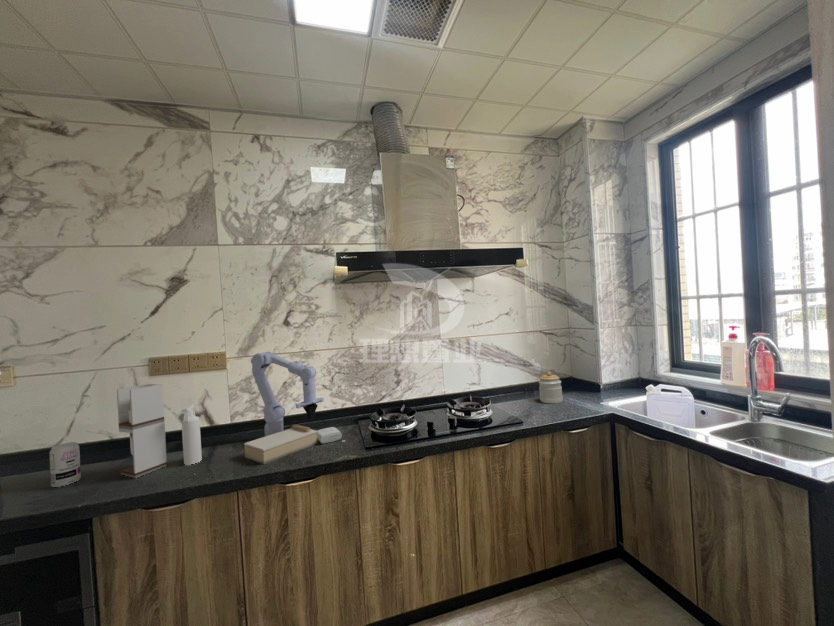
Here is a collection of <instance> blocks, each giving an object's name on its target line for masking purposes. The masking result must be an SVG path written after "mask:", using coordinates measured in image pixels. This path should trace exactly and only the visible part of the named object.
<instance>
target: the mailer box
mask: <svg viewBox="0 0 834 626" xmlns="http://www.w3.org/2000/svg"><path fill="white" fill-rule="evenodd" d="M317 444H318V440H317V433H313V434H311V435H308V436H305V437H302V438H299V439H297V440H294V441H291V442H288V443H285V444H283V445H280V446H277V447H274V448H272V449H269V450H266V451H261V450H258V449H255V448H252V447H249V446H246V445H244V457H245V458H246V459H249V460H251V461H253V462H256V463H259V464H262V465H266V464H269V463H272V462H274V461H277V460H279V459H282V458H284V457H287V456H289V455H292V454H294V453H298V452H300V451H302V450H305V449H308V448H310V447H313V446H314V445H317Z"/></svg>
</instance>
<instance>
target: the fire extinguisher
mask: <svg viewBox="0 0 834 626" xmlns="http://www.w3.org/2000/svg"><path fill="white" fill-rule="evenodd" d="M194 408H195V407H194V404H193V403H189V404H186V405H185V407H183V408H182V409H181V413H184V415H183V419H182V421H181V433H182V434H181V436H182V437H181V438H182V450H183V451H182V454H183V465H184V464H185V465H184V466H192V465H191V464H194V465H196V464H195V463H197V464H199V463H201V462H202V461H203V458H202V456H203V453H202V440H201V439H202V436H201V422H200V418H199V416H196V411H195V410H194ZM201 460H202V461H201ZM200 461H201V462H200ZM198 462H199V463H198Z"/></svg>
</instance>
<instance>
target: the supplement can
mask: <svg viewBox="0 0 834 626" xmlns="http://www.w3.org/2000/svg"><path fill="white" fill-rule="evenodd" d="M48 453H49V470H50V486H51V487H52V488H54V487H58V488H62V487H61V486H64V487H66V486H65V485H68V486H70V485H69V484H71V483H73V484H75V483H74V482H76V481H77V482H79V480H80V479H81V477H82V476H81V475H82V474H81V454H80V453H81V452H80V445H79V444H78V442H76V441H75V442H73V441H70V442H66V443H62V444H58V445H55V446H52V447H51V450H50V451H49V452H48ZM77 482H76V483H77ZM71 485H72V484H71Z"/></svg>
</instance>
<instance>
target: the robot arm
mask: <svg viewBox="0 0 834 626" xmlns="http://www.w3.org/2000/svg"><path fill="white" fill-rule="evenodd" d="M250 363H251V365H252V367H251V369H252V370H251V374H252V376H253V378H254V381H255V383H256V385H257V386H256V387H257V388H258V391H259V394H260V396H261V399H262V401H263V404H264V407H263V409H262V411H263V419H264V421H265V422H266V423H265V425H264V426H263V427H264V437H265V436H268V435H271V434H275V433H278V432H281V431H284V430H285V429H284V417H285V416H286V410H285V408H284V406H282V404H281V402H279V401H277V399H276V397H275V394H274V391H273V389H272V387H271V384H270V381H269V379H268V377H267V374H266V372H267V369H268V367H269V366H270V365H272V364H275V365H276V366H277V365H278V366H279V367H283V368H286V369H287V371H288V372H289V373H291V374H294V375H296V376H297V377H299V378H300V379H301V381H302V390H303V391H302V392H303V393H302V395H303V401H301V402H299V403H297V404H295V408H296V409H301V408H303V409H304V411H305V413H306V415H307V418H308V421H313V420H315V414H316V412H317V411H316V410H317V408H318V407H319V406H318V404H319V403H323V402H324V397H316V396H317V395H316V394H317V393H316V380H315V377H316V375H317V370H316V369H315V367H313V366H311V365H310V366H308V365H306V364H302V363H300V362H299V361H298V360H292V361H289V360H287V359H286V358H283V357H281V356H279V355H277V354H276V353H274V352H271V351H266V352H261V353H258V352H257V353H254V355H252V358H251V360H250Z"/></svg>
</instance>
